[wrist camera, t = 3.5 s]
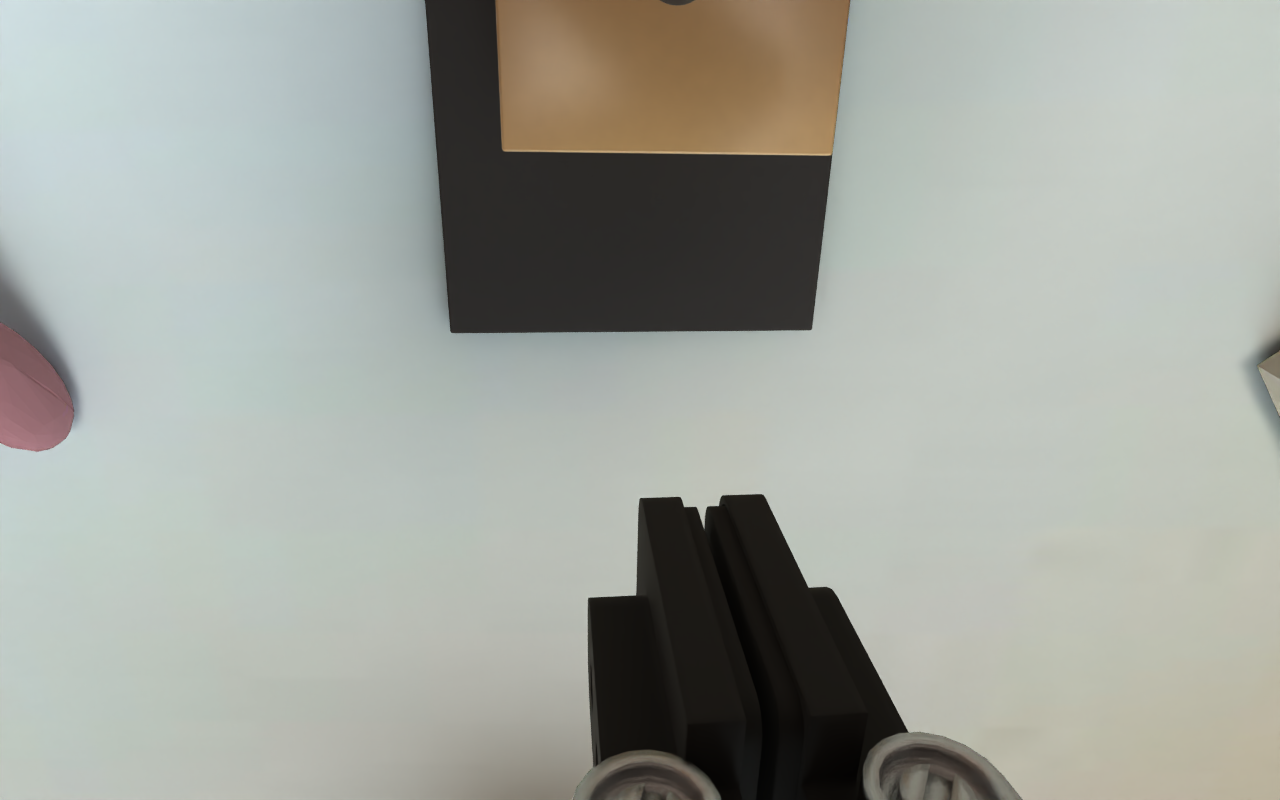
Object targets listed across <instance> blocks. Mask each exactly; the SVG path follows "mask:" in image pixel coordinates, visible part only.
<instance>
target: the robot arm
mask: <svg viewBox="0 0 1280 800" xmlns="http://www.w3.org/2000/svg"><path fill="white" fill-rule="evenodd" d="M588 674H589V701H590V719H591V735H592V752H593V768H592V769H591V770H590V771H589V772H588V773H587V775H586V776H585V777H584V778H583V780H582V781H581V782H580V784H579V785H578V786H577V788H576V791H575V794H574V797H573V800H1023V799H1022V798H1021V797H1020V796H1019V794H1018V793H1017V792H1016V791H1015V789H1014V788H1013V787H1012V786H1011V784H1010V783H1009V782H1008V781H1007V780H1006V778H1005V777H1004V776H1003V775H1002V774H1001V773H1000V772H999V771H998V770H997V769H996V768H995V767H994V766H993V765H992V764H991V763H990V762H989V761H988V760H987V759H986V758H985V757H983V756H981V755H980V754H978V753H977V752H975V751H974V750H972V749H971V748H969V747H967V746H966V745H964V744H961V743H959V742H956V741H954V740H951V739H949V738H946V737H944V736H940V735H934V734H929V733H923V732H911V733H909V732H908V731H907V729H906V727H905V725H904V723H903V721H902V719H901V717H900V715H899V713H898V711H897V710H896V708H895V706H894V704H893V702H892V700H891V698H890V696H889V694H888V692H887V691H886V689H885V687H884V685H883V683H882V681H881V679H880V677H879V675H878V673H877V671H876V670H875V668H874V666H873V664H872V662H871V660H870V658H869V656H868V654H867V652H866V650H865V649H864V647H863V645H862V643H861V641H860V639H859V637H858V635H857V633H856V631H855V629H854V628H853V626H852V624H851V622H850V620H849V618H848V616H847V614H846V612H845V610H844V609H843V607H842V605H841V603H840V601H839V599H838V597H837V596H836V594H835V593H834V591H833V590H832V589H830V588H828V587H815V588H808V586H807V584H806V582H805V580H804V578H803V575H802V573H801V571H800V569H799V567H798V565H797V563H796V561H795V559H794V557H793V555H792V552H791V550H790V548H789V546H788V544H787V542H786V540H785V538H784V536H783V534H782V532H781V530H780V527H779V525H778V523H777V521H776V519H775V517H774V515H773V513H772V511H771V509H770V507H769V505H768V502H767V500H766V498H765V497H764V495H762V494H754V495H723V496H722V497H721V499H720V503H719V506H709V507H707V509H706V515H705V529H704V528H703V525H702V522H701V519H700V515H699V512H698V510H697V507H684V506H683V502H682V499H681V497H662V498H640V501H639V513H638V552H637V591H636V596H617V597H595V598H588Z"/></svg>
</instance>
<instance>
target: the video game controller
mask: <svg viewBox="0 0 1280 800" xmlns="http://www.w3.org/2000/svg"><path fill="white" fill-rule="evenodd" d="M73 412H74V409H73V405H72V401H71V398H70V396H69V393H68V391H67V389H66V387H65V385H64V383H63V381H62V379H61V378H60V377H59V375H58V374H57V372H56V371H55V369H54V368H53V367H52V365H51V364H50V363H49V362H48V361H47V360H46V359H45V358H44V357H43V356H42V355H41V354H40V353H39V351H38V350H37V349H36V348H35V347H34V346H32V345H31V344H30V343H29V342H28V341H26V340H25V339H24V338H23V337H21V336H20V335H19V334H18V333H17V332H15V331H14V330H12V329H10V328H9V327H7V326H6V325H4V324H3V323H1V322H0V443H2V444H4V445H6V446H8V447H11V448H17V449H24V450H31V451H36V452H38V451H43V450H47V449H50V448H53V447H55V446H56V445H58V444H59V443H60V442H62V441H63V440H64V439H66V437H67V436H68V434H69V432H70V430H71V426H72V422H73V418H74V413H73Z"/></svg>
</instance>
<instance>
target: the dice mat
mask: <svg viewBox="0 0 1280 800" xmlns="http://www.w3.org/2000/svg"><path fill="white" fill-rule="evenodd" d="M425 4H426V17H427V31H428V44H429V57H430V70H431V83H432V96H433V109H434V122H435V135H436V148H437V161H438V175H439V188H440V201H441V214H442V227H443V240H444V253H445V266H446V279H447V292H448V306H449V319H450V331H451V333H527V332H651V331H774V330H811V329H812V323H813V314H814V306H815V297H816V289H817V280H818V272H819V263H820V255H821V246H822V237H823V229H824V220H825V212H826V203H827V195H828V186H829V178H830V169H831V161H832V154H831V155H829V156H816V155H738V154H659V153H581V152H505V151H503V149H502V139H501V117H500V94H499V72H498V49H497V27H496V4H495V0H425ZM849 7H850V6H849ZM848 15H849V14H848ZM847 24H848V23H847ZM846 32H847V31H846ZM845 41H846V40H845ZM844 50H845V48H844ZM843 58H844V57H843ZM842 67H843V66H842ZM841 75H842V74H841ZM840 84H841V83H840ZM839 92H840V91H839ZM838 101H839V100H838ZM837 109H838V108H837ZM836 118H837V117H836ZM835 126H836V125H835ZM834 135H835V134H834ZM833 144H834V142H833ZM832 152H833V151H832Z"/></svg>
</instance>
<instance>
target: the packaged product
mask: <svg viewBox="0 0 1280 800" xmlns="http://www.w3.org/2000/svg"><path fill="white" fill-rule="evenodd" d="M1257 367H1258V369H1259V371H1260V374H1261V376H1262V378H1263V380H1264V383H1265V385H1266V387H1267V389H1268V392H1269V394H1270V396H1271V398H1272V401H1273V403H1274V405H1275V407H1276V410H1277V412H1278V414H1279V416H1280V351H1278V352H1277V353H1275V354H1274V355H1272V356H1271V357H1269V358H1268V359H1266V360H1265V361H1263V362H1262V363H1260V364H1259V365H1257Z"/></svg>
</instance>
